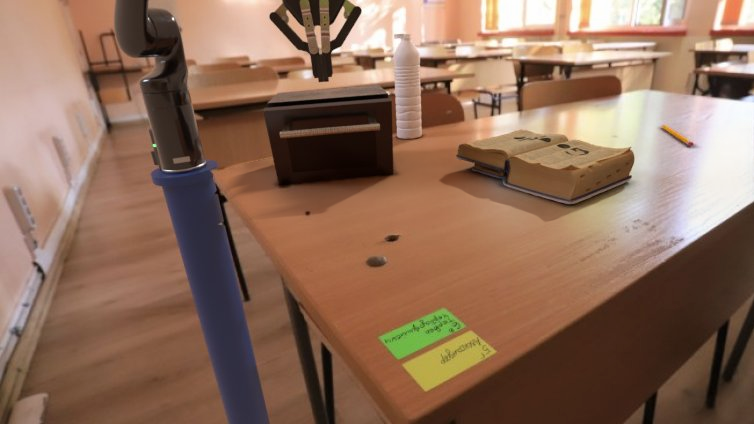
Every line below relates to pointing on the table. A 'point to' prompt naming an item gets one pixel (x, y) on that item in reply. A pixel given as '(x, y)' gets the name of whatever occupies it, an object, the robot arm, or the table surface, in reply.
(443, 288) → the table surface
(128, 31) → the robot arm
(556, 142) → the book
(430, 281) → the table surface
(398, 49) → the water bottle
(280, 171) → the oven door
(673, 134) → the pencil
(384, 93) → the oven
